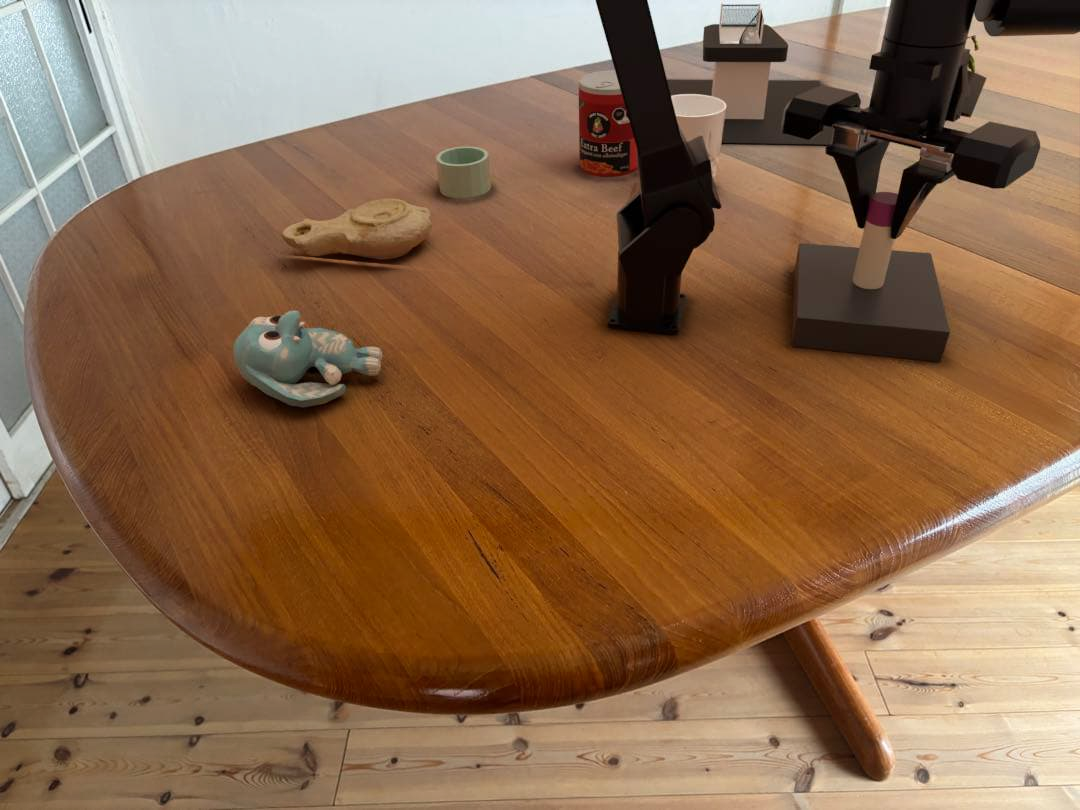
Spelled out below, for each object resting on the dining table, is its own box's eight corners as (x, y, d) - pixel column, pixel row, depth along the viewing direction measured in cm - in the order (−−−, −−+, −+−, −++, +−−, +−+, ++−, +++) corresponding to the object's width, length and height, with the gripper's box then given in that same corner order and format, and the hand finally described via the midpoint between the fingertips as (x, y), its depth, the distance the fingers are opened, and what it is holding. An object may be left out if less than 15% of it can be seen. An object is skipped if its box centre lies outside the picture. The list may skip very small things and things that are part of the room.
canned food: (569, 175, 103) (567, 85, 96) (595, 153, 108) (596, 66, 102) (625, 184, 100) (628, 92, 93) (650, 161, 105) (654, 72, 99)
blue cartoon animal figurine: (377, 356, 62) (213, 342, 61) (375, 429, 67) (221, 418, 65) (388, 287, 71) (244, 273, 69) (385, 355, 75) (249, 343, 73)
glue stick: (884, 291, 72) (906, 205, 67) (852, 288, 72) (871, 203, 68) (882, 276, 74) (903, 192, 69) (851, 274, 74) (869, 190, 70)
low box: (940, 362, 68) (950, 331, 66) (791, 346, 71) (797, 317, 69) (923, 281, 79) (931, 252, 77) (794, 270, 82) (799, 242, 80)
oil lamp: (283, 261, 87) (272, 217, 84) (397, 220, 94) (390, 178, 91) (332, 297, 81) (322, 251, 78) (450, 250, 88) (445, 206, 85)
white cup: (717, 204, 94) (725, 117, 88) (648, 201, 96) (652, 115, 90) (719, 178, 100) (727, 94, 94) (654, 175, 102) (658, 93, 96)
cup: (482, 203, 97) (478, 167, 94) (433, 200, 98) (428, 164, 96) (497, 183, 102) (494, 147, 99) (450, 180, 103) (446, 145, 100)
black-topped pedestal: (842, 145, 107) (862, 37, 99) (640, 142, 111) (644, 37, 103) (818, 81, 129) (834, -12, 121) (651, 80, 133) (655, -11, 125)
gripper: (1102, 35, 59) (1031, 233, 69) (864, 1, 70) (832, 176, 80) (1039, 70, 53) (971, 281, 63) (791, 27, 64) (765, 212, 74)
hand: (879, 232), depth 70 cm, fingers closed on glue stick, 3 cm apart
